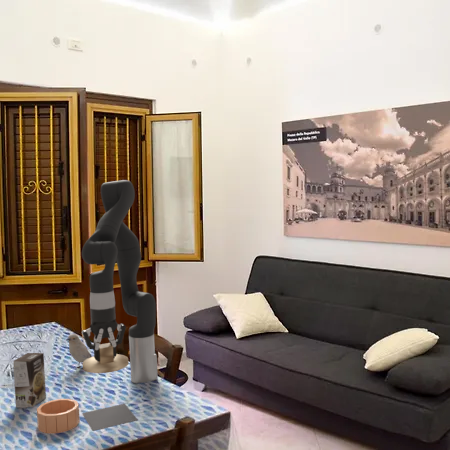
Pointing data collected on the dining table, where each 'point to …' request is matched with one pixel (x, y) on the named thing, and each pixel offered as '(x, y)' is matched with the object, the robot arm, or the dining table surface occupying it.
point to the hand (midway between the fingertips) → (105, 359)
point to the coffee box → (29, 380)
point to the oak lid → (105, 361)
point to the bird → (78, 349)
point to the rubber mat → (109, 417)
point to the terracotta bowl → (58, 416)
